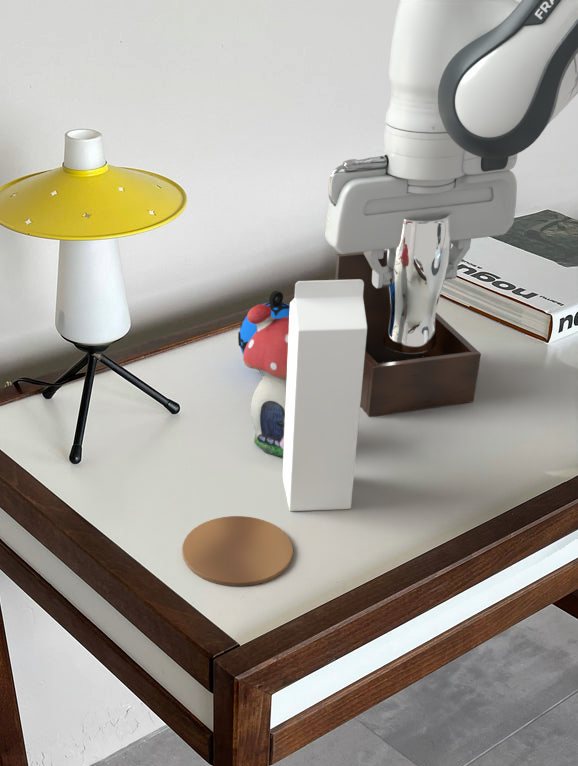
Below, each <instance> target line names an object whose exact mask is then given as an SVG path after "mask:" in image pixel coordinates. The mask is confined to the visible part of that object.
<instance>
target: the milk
mask: <svg viewBox="0 0 578 766" xmlns="http://www.w3.org/2000/svg"><path fill="white" fill-rule="evenodd" d="M363 290H364V282H363V281H362V280H360V279H357V280H335V279H328V280H322V279H321V280H298V281H297V282H296V283H295V284H294V298H293V299H292V300H291V301H290V302H289V305H290V312H289V336H288V359H287V383H286V406H285V430H284V453H283V458H282V481H283V487H284V492H285V496H286V500H287V506H288V510H289V512H305V511H330V510H334V511H335V510H351V508H352V501H353V499H352V498H353V489H354V478H355V467H356V466H355V465H356V454H357V444H358V435H359V434H358V433H359V423H360V422H359V421H360V412H361V406H360V402H361V391H362V380H363V369H364V358H365V347H366V336H367V322H366V315H365V308H364V301H363Z"/></svg>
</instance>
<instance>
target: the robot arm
mask: <svg viewBox="0 0 578 766" xmlns="http://www.w3.org/2000/svg"><path fill="white" fill-rule="evenodd" d="M393 24H394V25H393V30H392V36H391V45H390V54H389V62H388V63H389V64H388V80H389V85H390V100H389V105H388V108H387V111H386V113H385V119H384V129H383V130H384V131H383V144H382V155H380V156H371V157H367V158H362V159H356V158H351V159H346V160H344V161H343V162H342V164H340V165H339V166H337V167H336V168H335V169H333V171H332V172H331V173H330V175H329V178H328V193H327V195H328V199H329V203H328V208H327V215H326V222H325V231H324V237H325V240H326V242H327V243H328V244H329V246H330V247H331V248H332V249H333V250H334V251H336V253H337V254H350V253H359V252H364V255H365V257H366V259H367V261H368V262H369V264H370V266H371V268H372V269H373V271H372V284H373V286H374V287H376V288H384V287H390V285H391V282H390V279H391V272H389V271H388V270H386V269H385V267H381V265H380V263H379V261H378V258H379V259H382V258H383V255H384V249H392V248H398V247H399V245H400V242H401V236H402V230H403V223H404V219H409V220H418V221H429V220H437V219H441V218H444V217H446V216H448V215H449V214H452V235H451V252H450V259H449V265H448V269H447V273H446V277H445V280H444V281H446V280H453V279H456V278H457V274H458V268H459V264H461V262H462V261H463V259H464V257H465V256H466V255H467V253H468V252H469V251H470V249H471V243H472V240H475V239H481V238H491V237H499V236H504V235H505V234H507V233H508V232H509V230H510V229H511V228H512V227H513V224H514V221H515V215H516V209H517V208H516V207H517V197H518V196H517V193H518V184H517V183H518V182H517V178H516V174H515V173H514V172H513V171H511V170H512V169H514V168H515V166H516V163H517V160H518V154H520V153H522V152H523V151H525V150H526V149H528V148H529V147H530V146H532V145H533V144H534V143H535V142H536V141H537V140H538V138H539V137H540V136H541V135H542V134H543V132H544V131H545V129H546V128H547V126H548V125H549V124H550V123H551V122H552V121H553V120H554V119H556V117H557V116H558V115H559V114H560V113H561V112H562V111H563V110H564V109H565V108H566V107H567V106H568V105H569V104H570V103H571V101H572V100H573V99H574V98H575V97H576V96H577V94H578V0H521V1H520V2H519V1H518V0H399V2H398V6H397V9H396V14H395V19H394V23H393Z"/></svg>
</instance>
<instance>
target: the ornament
mask: <svg viewBox="0 0 578 766" xmlns="http://www.w3.org/2000/svg"><path fill="white" fill-rule="evenodd" d="M268 300H269V302H266V303H265V302H264V304H265V305H268V306H269V307H270V308H271V317H272V318H276V319H278V318H284V317H289V312H290V303H289V304H288V303H285V302H283V300H284V294H283V292H281V291H279V290H274V291H273V292H272V293H270V295H269V299H268ZM256 331H257V325H256V324H253V323H251V322H249V321H248V319H247V315H246V316H245V317H244V320H243V321H242V323H241V324H240V328H239V331H238V334H237V339H238V340H237V343H238V347H240V350H241V353H242V355H243V354H244V350H245V347H246V345H247V343H248V342H249V340H250V339H251V338H252V337H253V335H254V334H255V333H256Z"/></svg>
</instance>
